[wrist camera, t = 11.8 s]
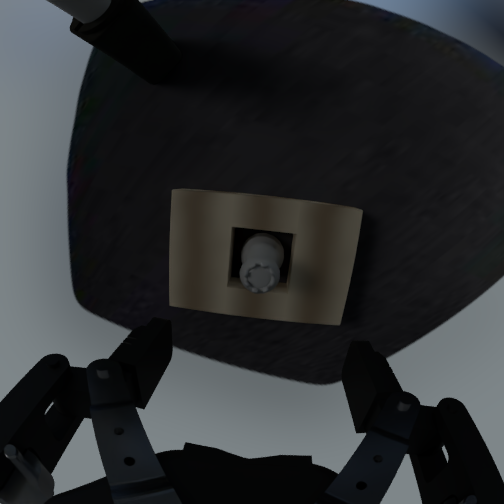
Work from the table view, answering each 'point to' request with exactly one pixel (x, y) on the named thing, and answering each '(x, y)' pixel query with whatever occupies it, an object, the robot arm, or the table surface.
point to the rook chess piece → (261, 263)
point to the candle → (124, 35)
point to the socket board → (271, 219)
